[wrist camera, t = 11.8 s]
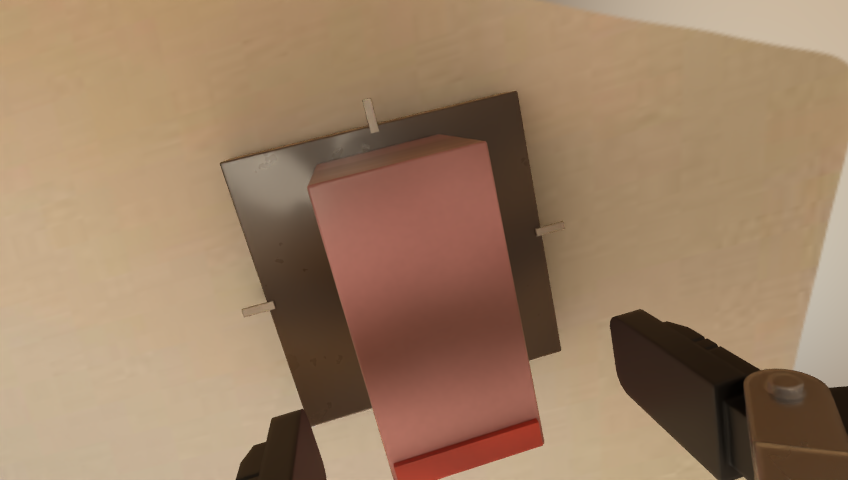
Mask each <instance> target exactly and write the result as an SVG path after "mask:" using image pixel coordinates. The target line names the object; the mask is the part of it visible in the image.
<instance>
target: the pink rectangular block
mask: <svg viewBox="0 0 848 480" xmlns="http://www.w3.org/2000/svg"><path fill="white" fill-rule="evenodd" d="M307 190H308V194H309V197H310V200H311V204H312V207H313V210H314V214H315V217H316V220H317V224H318V227H319V230H320V234H321V237H322V241H323V244H324V247H325V251H326V254H327V257H328V261H329V264H330V267H331V271H332V274H333V278H334V281H335V284H336V288H337V291H338V294H339V298H340V301H341V304H342V308H343V311H344V314H345V318H346V321H347V325H348V328H349V331H350V335H351V338H352V341H353V345H354V348H355V351H356V355H357V358H358V362H359V365H360V368H361V372H362V375H363V378H364V382H365V385H366V388H367V392H368V395H369V398H370V402H371V405H372V409H373V412H374V415H375V419H376V422H377V425H378V429H379V432H380V435H381V439H382V442H383V445H384V449H385V452H386V456H387V459H388V462H389V466H390V469H391V472H392V476H393V479H394V480H438V479H441V478H444V477H447V476H450V475H453V474H456V473H459V472H462V471H465V470H469V469H472V468H475V467H478V466H481V465H484V464H487V463H490V462H493V461H496V460H499V459H503V458H506V457H509V456H512V455H515V454H518V453H521V452H524V451H527V450H530V449H533V448H536V447H540V446H543V444H544V437H543V432H542V427H541V422H540V416H539V411H538V406H537V401H536V396H535V390H534V385H533V380H532V375H531V370H530V364H529V359H528V354H527V349H526V344H525V338H524V333H523V328H522V323H521V317H520V312H519V307H518V302H517V297H516V291H515V286H514V281H513V276H512V271H511V265H510V260H509V255H508V250H507V244H506V239H505V234H504V229H503V224H502V218H501V213H500V208H499V203H498V198H497V192H496V187H495V182H494V177H493V172H492V166H491V161H490V156H489V151H488V145H487V142H486V141H481V140H474V139H468V138H461V137H455V136H448V135H441V134H437V135H433V136H429V137H425V138H421V139H417V140H413V141H409V142H405V143H401V144H397V145H393V146H389V147H385V148H381V149H377V150H373V151H369V152H365V153H361V154H357V155H353V156H349V157H344V158H340V159H336V160H332V161H328V162H324V163H320V164H317V165H316V168H315V170H314V172H313V175H312V177H311V179H310V181H309V184H308V186H307Z"/></svg>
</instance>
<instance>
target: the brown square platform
mask: <svg viewBox="0 0 848 480" xmlns="http://www.w3.org/2000/svg"><path fill="white" fill-rule="evenodd" d="M362 101H363V105H364V109H365V113H366V117H367V120H368V124H369V125H368V126H363V127H359V128H355V129H351V130H347V131H343V132H339V133H334V134H330V135H326V136H322V137H318V138H314V139H310V140H306V141H301V142H297V143H293V144H289V145H285V146H281V147H277V148H273V149H268V150H264V151H260V152H256V153H252V154H248V155H244V156H239V157H235V158H231V159H228V160H226V161H223V162H221V163H220V166H221V169H222V171H223V174H224V177H225V180H226V183H227V186H228V189H229V192H230V195H231V198H232V201H233V204H234V207H235V209H236V212H237V215H238V218H239V221H240V224H241V227H242V230H243V233H244V236H245V239H246V242H247V245H248V248H249V250H250V253H251V256H252V259H253V262H254V265H255V268H256V271H257V274H258V277H259V280H260V283H261V286H262V289H263V291H264V294H265V297H266V300H267V302H266V303H262V304H259V305H255V306H251V307H248V308H244V309H242V313H243V316H244V317H247V316H251V315H255V314H258V313H262V312H265V311H269V310H270V312H271V315H272V318H273V321H274V324H275V327H276V329H277V332H278V335H279V338H280V341H281V344H282V347H283V350H284V353H285V356H286V359H287V362H288V365H289V368H290V370H291V373H292V376H293V379H294V382H295V385H296V388H297V391H298V394H299V397H300V400H301V403H302V406H303V408H304V411H305V412H306V414H307V417H308V420H309V423H310V426H311V427H312V426H315V425H319V424H322V423H325V422H328V421H332V420H335V419H338V418H342V417H345V416H348V415H351V414H355V413H358V412H361V411H365V410H368V409H371V408H372V405H371V402H370V398H369V395H368V392H367V388H366V385H365V382H364V378H363V375H362V372H361V368H360V365H359V362H358V358H357V355H356V351H355V348H354V345H353V341H352V338H351V335H350V331H349V328H348V325H347V321H346V318H345V314H344V311H343V308H342V304H341V301H340V298H339V294H338V291H337V288H336V284H335V281H334V278H333V274H332V271H331V267H330V264H329V261H328V257H327V254H326V251H325V247H324V244H323V241H322V237H321V234H320V230H319V227H318V224H317V220H316V217H315V214H314V210H313V207H312V204H311V200H310V197H309V194H308V190H307V186H308V184H309V181H310V179H311V177H312V175H313V172H314V170H315V168H316V165H317V164H320V163H324V162H328V161H332V160H336V159H340V158H344V157H349V156H353V155H357V154H361V153H365V152H369V151H373V150H377V149H381V148H385V147H389V146H393V145H397V144H401V143H405V142H409V141H413V140H417V139H421V138H425V137H429V136H433V135H437V134H441V135H448V136H455V137H461V138H468V139H474V140H481V141H486V142H487V145H488V151H489V156H490V161H491V166H492V172H493V177H494V182H495V187H496V192H497V198H498V203H499V208H500V213H501V218H502V224H503V229H504V234H505V239H506V244H507V250H508V255H509V260H510V265H511V271H512V276H513V281H514V286H515V291H516V297H517V302H518V307H519V312H520V317H521V323H522V328H523V333H524V338H525V344H526V349H527V354H528V359H529V360H532V359H536V358H539V357H542V356H546V355H549V354H552V353H555V352H559V351H561V346H560V340H559V334H558V329H557V323H556V317H555V311H554V305H553V299H552V293H551V288H550V282H549V276H548V270H547V264H546V258H545V252H544V247H543V241H542V235H544V234H548V233H551V232H555V231H559V230H562V229H565V226H564V222H563V221H561V222H557V223H554V224H550V225H546V226H543V227H540V223H539V217H538V211H537V205H536V200H535V194H534V188H533V182H532V176H531V170H530V164H529V159H528V153H527V147H526V141H525V135H524V129H523V123H522V118H521V112H520V106H519V100H518V94H517V91H511V92H505V93H500V94H496V95H491V96H487V97H483V98H479V99H475V100H471V101H467V102H463V103H458V104H454V105H450V106H446V107H442V108H438V109H434V110H430V111H425V112H421V113H417V114H413V115H409V116H405V117H401V118H396V119H392V120H388V121H384V122H380V123H377V120H376V116H375V112H374V108H373V104H372V100H371V98H369V99H364V100H362Z"/></svg>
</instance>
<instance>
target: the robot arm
mask: <svg viewBox="0 0 848 480" xmlns="http://www.w3.org/2000/svg"><path fill="white" fill-rule="evenodd" d="M610 329H611V336H612V343H613V350H614V358H615V365H616V371H617V375H618V378H619V381H620V383H621V385H622V387H623V389H624V390H625V392H626V393H627V394H628V395H629V396H630V397H631V398H632V399H633V400H634V401H635V402H636V403H637V404H638V405H639V406H640V407H641V408H642V409H644V410H645V411H646V412H647V413H648V414H649V415H650V416H651V417H652V418H653V419H654V420H655V421H656V422H657V423H658V424H659V425H660V426H662V427H663V428H664V429H665V430H666V431H667V432H668V433H669V434H670V435H671V436H672V437H673V438H674V439H675V440H676V441H677V442H678V443H680V444H681V445H682V446H683V447H684V448H685V449H686V450H687V451H688V452H689V453H690V454H691V455H692V456H693V457H694V458H695V459H696V460H698V461H699V462H700V463H701V464H702V465H703V466H704V467H705V468H706V469H707V470H708V471H709V472H710V473H711V474H712V475H713V476H714V477H715V478H717V479H718V480H735V479H738V478H741V477H745V478H746V479H747V480H848V386H847V387H834V388H828V387H827V386H826V385H825V384H824V383H823V382H822V381H820V380H819V379H817V378H815V377H813V376H810V375H808V374H805V373H802V372H798V371H794V370H788V369H765V370H760V369H758V368H756V367H755V366H753V365H751V364H750V363H748V362H746V361H744V360H743V359H741V358H739V357H738V356H736V355H734V354H733V353H731V352H729V351H727V350H726V349H724V348H722V347H721V346H720V347H718V346H717V344H716V343H714V342H712V341H711V340H709V339H705V338H704V336H702V335H700V334H699V333H697V332H695V331H694V330H692V329H690V328H688V327H685V326H682V325H678V324H674V323H671V322H661V321H660V320H658V319H657V318H655V317H653V316H652V315H650V314H649V313H647V312H645V311H644V310H641V309H639V310H636V311H632V312H629V313H625V314H622V315H619V316H615V317H613V318H612V319H611V321H610ZM236 480H326V473H325V469H324V465H323V461H322V458H321V455H320V452H319V449H318V446H317V443H316V440H315V437H314V434H313V431H312V428H311V426H310V423H309V420H308V417H307V414H306V412H305V411H304V410H303V409H301V410H297V411H294V412H290V413H287V414H284V415H280V416H277V417H274V418H272V420H271V423H270V428H269V432H268V437H267V441H266V442H264V443H261V444H257V445H254V446H253V447H252V449H251V450H250V451H249V453H248V454H247V455H246V457H245V458H244V459H243V461H242V462H241V464H240V467H239V471H238V474H237V477H236Z"/></svg>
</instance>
